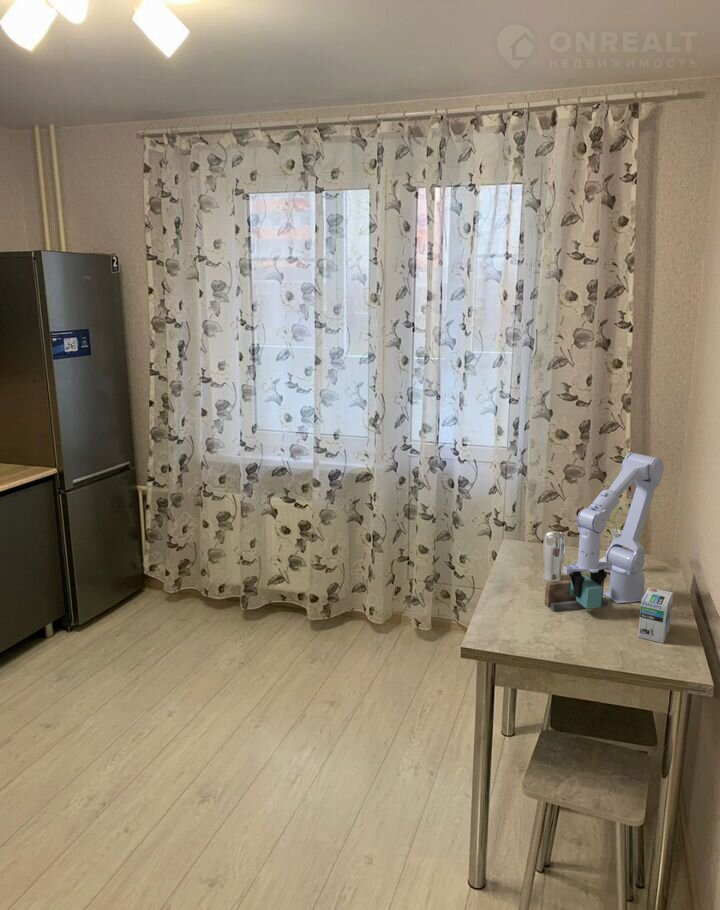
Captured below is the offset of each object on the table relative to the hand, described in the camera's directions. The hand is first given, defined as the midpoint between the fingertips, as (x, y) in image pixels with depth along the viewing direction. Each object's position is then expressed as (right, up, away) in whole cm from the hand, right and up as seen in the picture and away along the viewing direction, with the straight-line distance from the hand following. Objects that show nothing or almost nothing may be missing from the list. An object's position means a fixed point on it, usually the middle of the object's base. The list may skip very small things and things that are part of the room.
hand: (585, 595), depth 198 cm
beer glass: (-3, 0, +24) cm, 24 cm away
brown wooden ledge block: (-1, -4, +5) cm, 6 cm away
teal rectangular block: (0, -2, +1) cm, 2 cm away
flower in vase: (+20, +2, +32) cm, 38 cm away
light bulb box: (+15, -8, -12) cm, 20 cm away
